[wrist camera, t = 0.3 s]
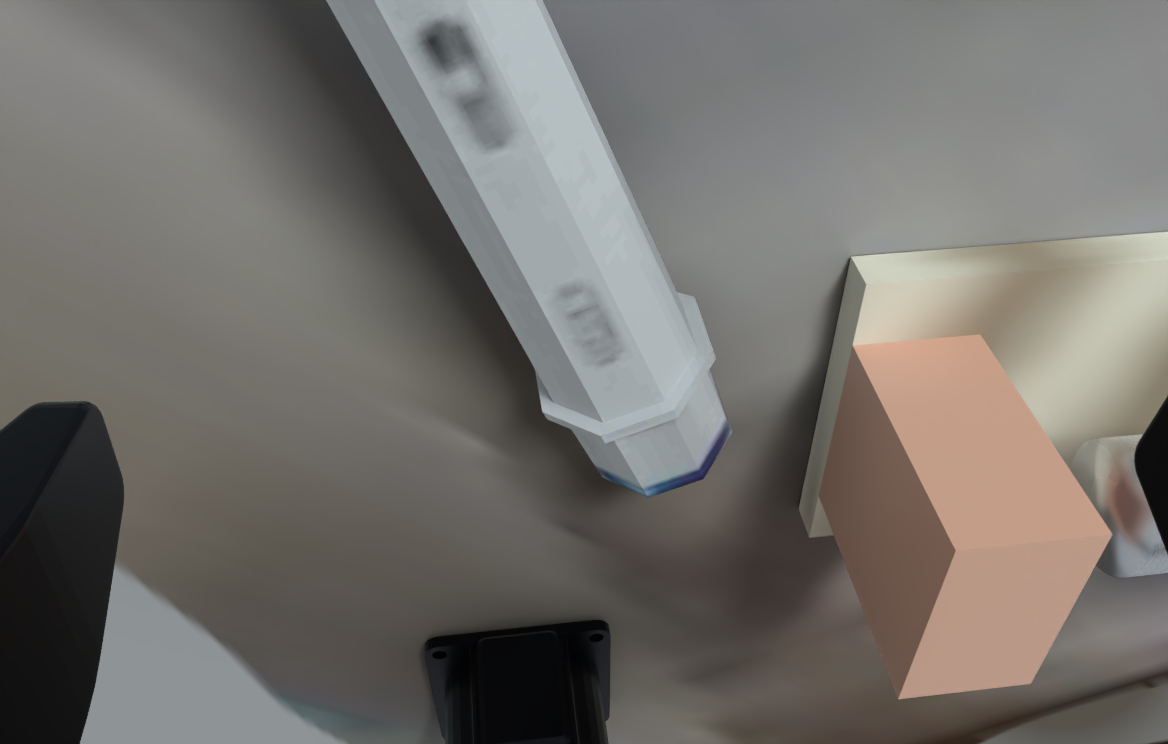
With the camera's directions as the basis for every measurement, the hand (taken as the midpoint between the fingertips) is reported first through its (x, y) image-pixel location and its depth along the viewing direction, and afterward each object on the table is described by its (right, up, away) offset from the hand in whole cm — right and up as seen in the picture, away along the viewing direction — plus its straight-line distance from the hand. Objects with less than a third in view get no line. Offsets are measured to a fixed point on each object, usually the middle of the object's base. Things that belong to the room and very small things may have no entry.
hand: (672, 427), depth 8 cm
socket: (+8, -1, +20) cm, 21 cm away
